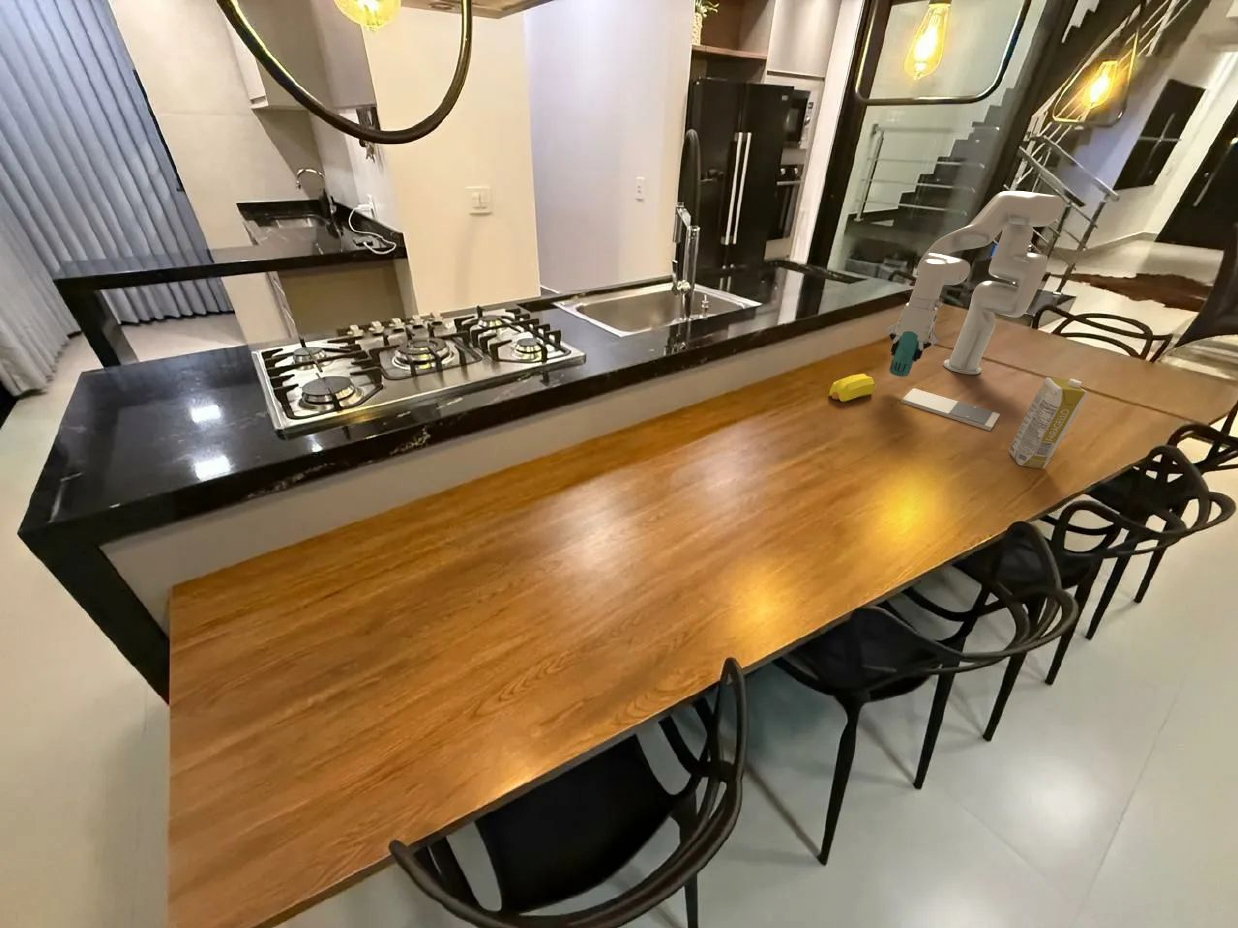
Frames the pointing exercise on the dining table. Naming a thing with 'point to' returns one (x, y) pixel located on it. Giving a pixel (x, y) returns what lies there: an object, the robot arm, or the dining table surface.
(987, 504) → the dining table surface
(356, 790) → the dining table surface
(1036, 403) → the juice carton
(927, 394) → the floor panel
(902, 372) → the beverage bottle
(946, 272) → the robot arm
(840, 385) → the yellow faceted oblong part
